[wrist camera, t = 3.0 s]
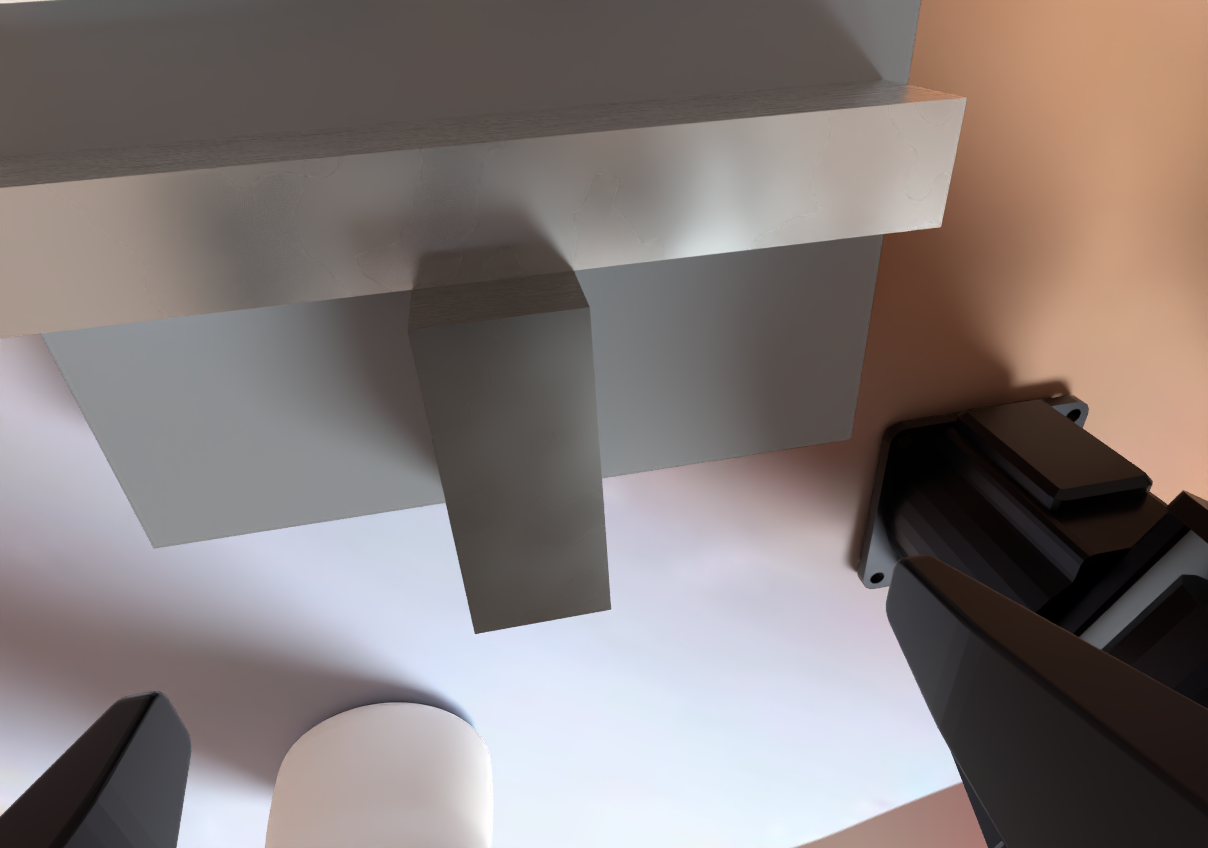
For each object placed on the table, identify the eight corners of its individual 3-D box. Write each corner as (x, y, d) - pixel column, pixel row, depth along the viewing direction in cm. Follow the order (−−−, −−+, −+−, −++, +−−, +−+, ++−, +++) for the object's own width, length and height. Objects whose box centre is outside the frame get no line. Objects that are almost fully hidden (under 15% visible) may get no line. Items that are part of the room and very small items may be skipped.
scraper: (831, 442, 17) (923, 552, 14) (178, 544, 15) (104, 701, 12) (883, 79, 13) (1034, 112, 10) (-16, 158, 11) (-216, 235, 8)
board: (800, 381, 20) (851, 439, 17) (195, 468, 18) (154, 548, 15) (895, -505, 11) (1023, -644, 9) (-255, -531, 9) (-518, -723, 7)
